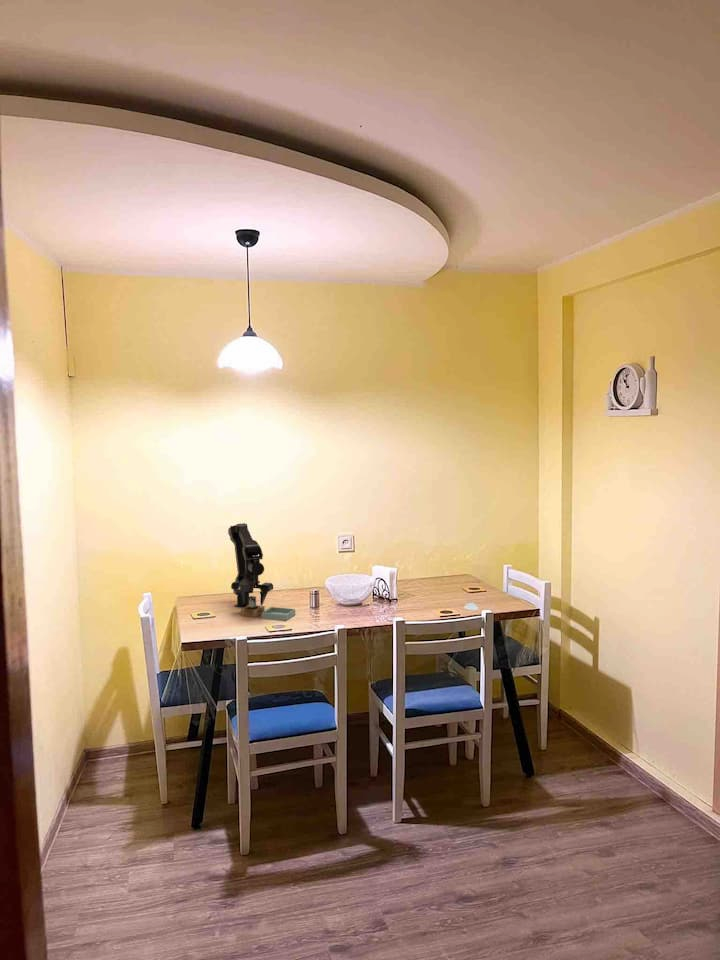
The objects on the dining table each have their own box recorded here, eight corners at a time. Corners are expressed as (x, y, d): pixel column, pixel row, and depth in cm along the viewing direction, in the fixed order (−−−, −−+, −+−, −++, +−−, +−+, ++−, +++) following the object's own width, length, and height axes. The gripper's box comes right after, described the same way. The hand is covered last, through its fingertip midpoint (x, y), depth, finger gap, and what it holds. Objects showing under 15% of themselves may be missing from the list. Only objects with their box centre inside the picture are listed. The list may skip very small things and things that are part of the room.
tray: (271, 612, 304) (271, 606, 304) (295, 614, 300) (295, 609, 300) (261, 618, 294) (261, 612, 294) (286, 620, 291) (286, 615, 290)
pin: (251, 612, 303) (250, 595, 303) (257, 613, 302) (257, 596, 302) (247, 614, 300) (247, 597, 299) (254, 615, 299) (254, 598, 298)
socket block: (248, 610, 306) (248, 604, 306) (264, 612, 304) (264, 606, 304) (240, 615, 299) (240, 609, 298) (256, 617, 296) (256, 610, 296)
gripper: (224, 573, 295) (225, 607, 296) (262, 576, 289) (263, 611, 290) (236, 568, 305) (237, 601, 307) (273, 570, 300) (274, 604, 301)
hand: (252, 604), depth 301 cm, fingers open, 9 cm apart
